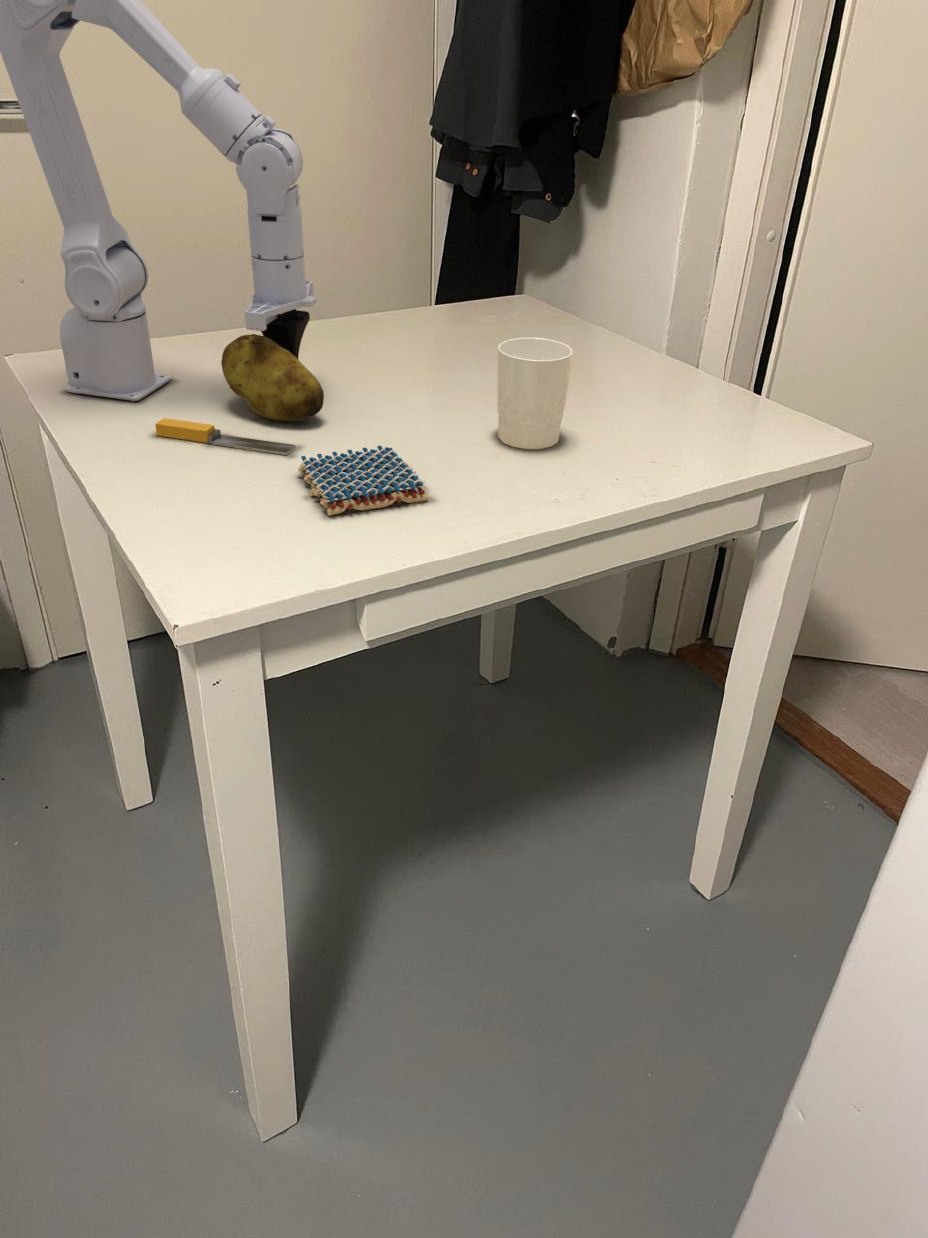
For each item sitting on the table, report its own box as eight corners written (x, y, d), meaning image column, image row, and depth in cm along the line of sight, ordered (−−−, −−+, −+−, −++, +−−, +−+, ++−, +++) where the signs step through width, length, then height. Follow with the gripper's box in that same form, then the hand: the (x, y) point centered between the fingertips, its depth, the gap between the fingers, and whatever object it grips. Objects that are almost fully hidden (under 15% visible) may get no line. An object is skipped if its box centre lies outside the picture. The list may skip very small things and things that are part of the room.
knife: (155, 436, 103) (153, 424, 102) (166, 429, 105) (164, 416, 104) (287, 455, 100) (286, 442, 99) (295, 447, 102) (294, 435, 101)
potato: (265, 439, 103) (254, 367, 99) (219, 402, 112) (207, 334, 108) (334, 420, 107) (326, 350, 103) (284, 386, 116) (275, 320, 111)
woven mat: (326, 520, 88) (325, 500, 87) (295, 473, 96) (294, 455, 95) (431, 503, 92) (432, 483, 91) (393, 460, 100) (393, 441, 99)
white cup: (571, 431, 108) (580, 343, 103) (553, 457, 102) (562, 364, 97) (504, 420, 110) (510, 333, 105) (483, 445, 104) (488, 354, 99)
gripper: (285, 273, 99) (294, 399, 106) (335, 243, 111) (340, 359, 118) (222, 266, 100) (235, 392, 108) (278, 238, 112) (286, 353, 119)
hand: (286, 375), depth 113 cm, fingers closed
